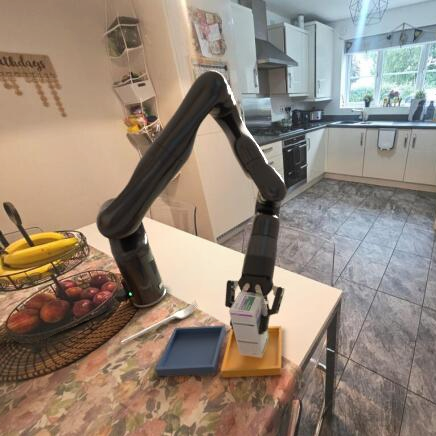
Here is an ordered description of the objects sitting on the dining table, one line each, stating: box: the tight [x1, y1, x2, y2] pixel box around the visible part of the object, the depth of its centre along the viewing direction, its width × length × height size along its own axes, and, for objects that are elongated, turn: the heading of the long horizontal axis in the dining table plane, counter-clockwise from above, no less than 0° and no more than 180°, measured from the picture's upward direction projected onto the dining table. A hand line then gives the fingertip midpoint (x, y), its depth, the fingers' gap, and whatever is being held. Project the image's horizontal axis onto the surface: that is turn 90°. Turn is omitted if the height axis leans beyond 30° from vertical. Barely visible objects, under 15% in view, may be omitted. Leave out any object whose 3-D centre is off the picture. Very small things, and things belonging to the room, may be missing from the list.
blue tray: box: [154, 325, 227, 377], centre depth 60 cm, size 13×11×2 cm
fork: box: [120, 300, 199, 345], centre depth 68 cm, size 3×20×2 cm, turn 127°
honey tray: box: [220, 325, 283, 379], centre depth 59 cm, size 13×11×2 cm
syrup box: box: [228, 291, 269, 358], centre depth 56 cm, size 6×6×14 cm
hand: (247, 331), depth 54 cm, fingers closed on syrup box, 6 cm apart
